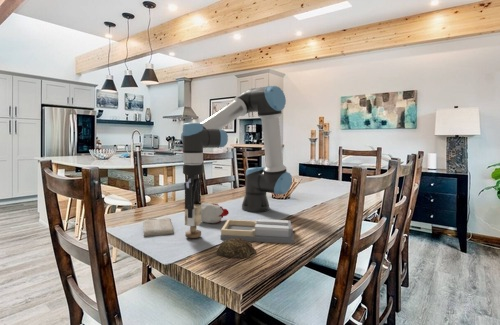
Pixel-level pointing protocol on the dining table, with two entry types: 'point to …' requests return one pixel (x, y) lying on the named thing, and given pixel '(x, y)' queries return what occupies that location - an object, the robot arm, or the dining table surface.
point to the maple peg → (193, 232)
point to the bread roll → (235, 248)
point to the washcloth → (157, 227)
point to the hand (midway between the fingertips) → (193, 223)
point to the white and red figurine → (212, 213)
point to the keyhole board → (259, 230)
